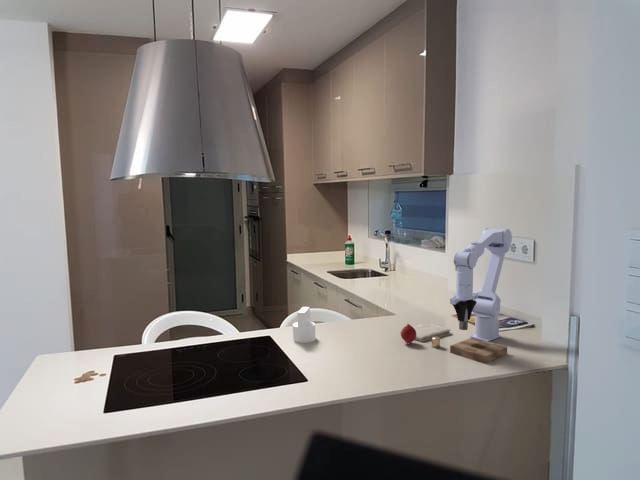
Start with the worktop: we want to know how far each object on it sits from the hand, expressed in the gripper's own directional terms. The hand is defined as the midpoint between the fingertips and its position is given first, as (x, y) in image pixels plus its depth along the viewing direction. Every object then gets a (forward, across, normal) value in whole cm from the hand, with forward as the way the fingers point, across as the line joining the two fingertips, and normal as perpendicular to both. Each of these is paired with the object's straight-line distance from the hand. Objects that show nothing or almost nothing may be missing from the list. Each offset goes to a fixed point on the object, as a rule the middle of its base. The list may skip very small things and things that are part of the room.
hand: (463, 320), depth 165 cm
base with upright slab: (+11, +40, -46) cm, 62 cm away
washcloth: (+11, -2, -19) cm, 22 cm away
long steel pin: (+3, 0, 0) cm, 3 cm away
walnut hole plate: (+10, +1, +7) cm, 12 cm away
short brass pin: (+10, +7, -7) cm, 14 cm away
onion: (+11, +12, -16) cm, 23 cm away
